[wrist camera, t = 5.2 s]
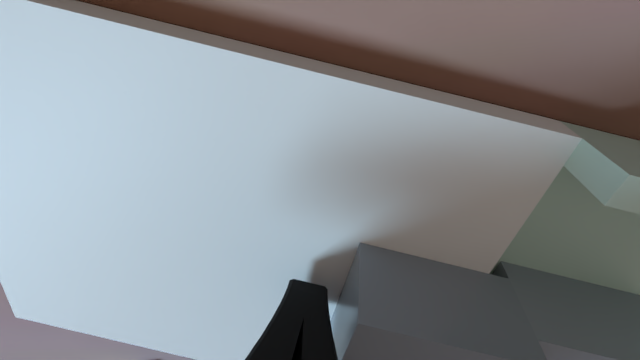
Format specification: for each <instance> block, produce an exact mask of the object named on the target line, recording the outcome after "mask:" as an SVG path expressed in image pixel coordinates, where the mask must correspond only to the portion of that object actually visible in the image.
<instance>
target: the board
mask: <svg viewBox="0 0 640 360" xmlns="http://www.w3.org/2000/svg"><path fill="white" fill-rule="evenodd" d="M581 140H582V138H581V137H580V136H578V135H577V134H576V133H575V132H573V131H572V130H571V129H569V128H568V127H567V126H565V125H564V124H563V123H562V122H560V121H558V120H554V119H550V118H546V117H542V116H538V115H534V114H530V113H526V112H522V111H518V110H514V109H510V108H506V107H502V106H498V105H494V104H490V103H486V102H482V101H478V100H474V99H470V98H466V97H462V96H458V95H454V94H450V93H446V92H442V91H438V90H434V89H430V88H426V87H422V86H418V85H414V84H410V83H406V82H402V81H398V80H394V79H390V78H386V77H382V76H378V75H374V74H370V73H366V72H362V71H358V70H353V69H349V68H345V67H341V66H337V65H333V64H329V63H325V62H321V61H317V60H313V59H309V58H305V57H301V56H297V55H293V54H289V53H285V52H281V51H277V50H273V49H269V48H265V47H261V46H257V45H253V44H249V43H245V42H241V41H237V40H233V39H229V38H225V37H221V36H217V35H213V34H209V33H205V32H201V31H197V30H193V29H189V28H185V27H181V26H177V25H173V24H169V23H165V22H161V21H157V20H153V19H149V18H145V17H141V16H137V15H133V14H129V13H125V12H121V11H117V10H113V9H109V8H105V7H101V6H96V5H92V4H88V3H84V2H80V1H76V0H0V282H1V284H2V286H3V289H4V291H5V294H6V296H7V298H8V301H9V303H10V306H11V308H12V310H13V313H14V315H15V317H18V318H22V319H26V320H30V321H35V322H39V323H43V324H47V325H52V326H56V327H60V328H64V329H69V330H73V331H77V332H81V333H86V334H90V335H94V336H98V337H103V338H107V339H111V340H115V341H119V342H124V343H128V344H132V345H136V346H141V347H145V348H149V349H153V350H158V351H162V352H166V353H170V354H175V355H179V356H183V357H187V358H192V359H196V360H245V359H246V357H247V356H248V354H249V353H250V351H251V350H252V348H253V347H254V346H255V344H256V343H257V341H258V340H259V338H260V337H261V335H262V334H263V332H264V331H265V329H266V327H267V326H268V324H269V322H270V320H271V319H272V317H273V315H274V314H275V312H276V310H277V308H278V306H279V304H280V303H281V301H282V298H283V296H284V294H285V292H286V289H287V287H288V284H289V280H292V279H296V280H301V281H305V282H309V283H313V284H318V285H322V286H325V287H326V288H327V289H328V306H329V315H330V321H331V318H332V315H333V313H334V310H335V307H336V305H337V302H338V299H339V297H340V294H341V291H342V289H343V286H344V283H345V281H346V278H347V275H348V273H349V270H350V267H351V265H352V262H353V259H354V257H355V254H356V251H357V248H358V246H359V243H364V244H369V245H373V246H377V247H381V248H385V249H389V250H393V251H397V252H401V253H405V254H410V255H414V256H418V257H422V258H426V259H430V260H434V261H438V262H442V263H447V264H451V265H455V266H459V267H463V268H467V269H471V270H475V271H479V272H484V273H488V274H490V272H491V271H492V269H493V268H494V266H495V265H496V263H497V262H498V260H499V259H500V258H501V256H502V255H503V253H504V252H505V250H506V249H507V247H508V246H509V244H510V243H511V242H512V240H513V239H514V237H515V236H516V234H517V233H518V231H519V230H520V228H521V227H522V226H523V224H524V223H525V221H526V220H527V218H528V217H529V215H530V214H531V212H532V211H533V210H534V208H535V207H536V205H537V204H538V202H539V201H540V199H541V198H542V196H543V195H544V194H545V192H546V191H547V189H548V188H549V186H550V185H551V183H552V182H553V180H554V179H555V178H556V176H557V175H558V173H559V172H560V170H561V169H562V167H563V166H564V164H565V163H566V162H567V160H568V159H569V157H570V156H571V154H572V153H573V151H574V150H575V148H576V147H577V146H578V144H579V143H580V141H581Z"/></svg>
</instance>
